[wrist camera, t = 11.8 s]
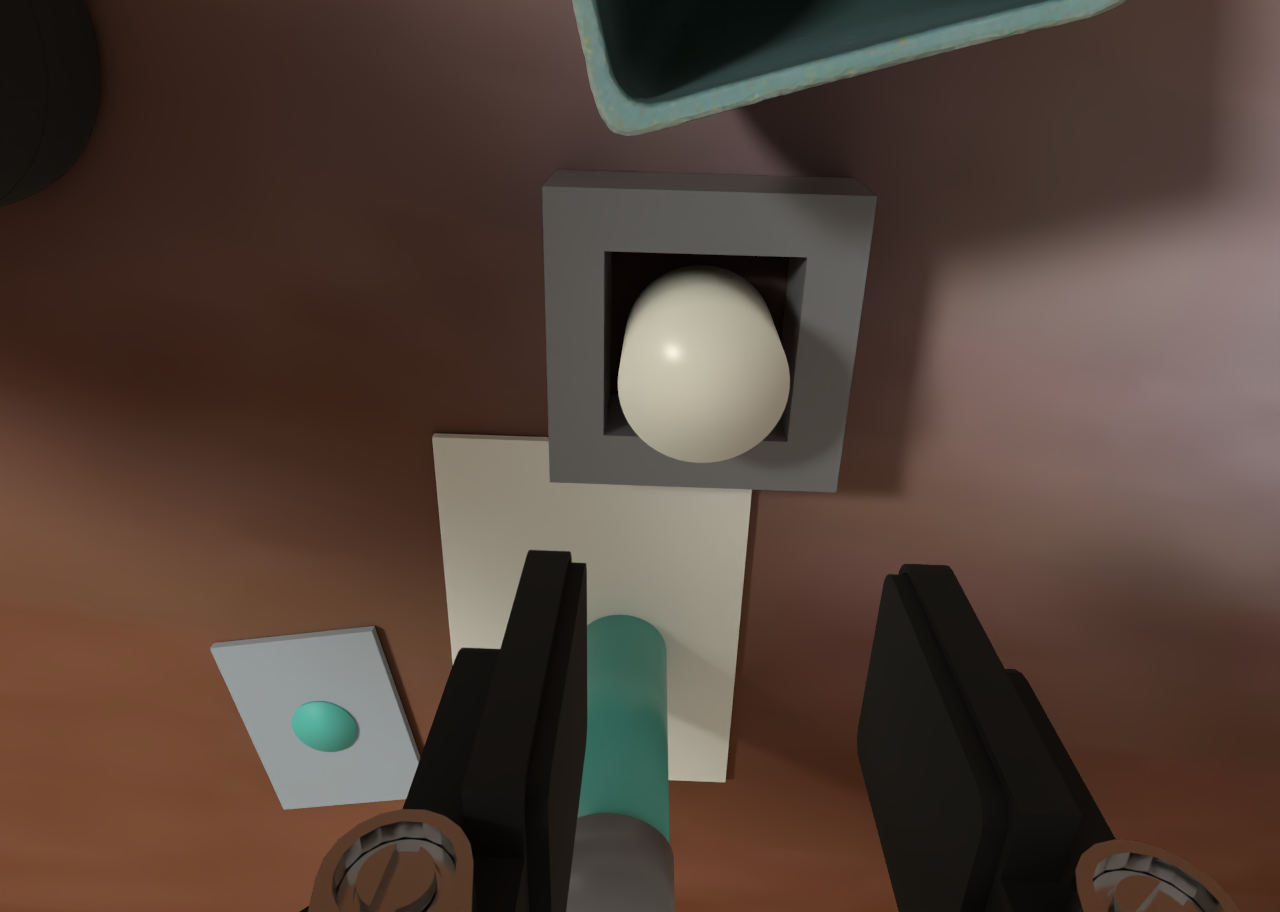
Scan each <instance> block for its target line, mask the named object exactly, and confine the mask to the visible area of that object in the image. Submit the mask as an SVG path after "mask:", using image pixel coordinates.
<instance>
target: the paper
mask: <svg viewBox="0 0 1280 912" xmlns="http://www.w3.org/2000/svg"><path fill="white" fill-rule="evenodd" d="M432 443H433V454H434V465H435V476H436V487H437V497H438V508H439V519H440V530H441V541H442V552H443V563H444V574H445V585H446V596H447V607H448V618H449V629H450V640H451V651H452V662H453V663H454V661H455V658H456V656H457V654H458V651H459V650H460V649H461V648H488V649H501V645H502V641H503V638H504V634H505V631H506V627H507V624H508V620H509V616H510V613H511V609H512V606H513V602H514V599H515V595H516V592H517V588H518V584H519V581H520V577H521V574H522V570H523V567H524V563H525V559H526V556H527V553H528V551H529V550H546V551H570V552H571V557H572V562H573V563H586V567H587V625H589V624H590V623H592V622H593V621H595V620H597V619H599V618H602V617H606V616H610V615H629V616H634V617H637V618H640V619H642V620H645V621H646V622H648V623H650V624H651V625H652V626H654V627H655V628H656V629H657V630H658V631H659V633H660V634H661V635H662V637H663V639H664V642H665V644H666V653H667V717H668V780H679V781H703V782H725V781H726V770H727V759H728V748H729V737H730V726H731V715H732V704H733V693H734V682H735V671H736V660H737V649H738V638H739V627H740V616H741V605H742V594H743V583H744V571H745V560H746V549H747V538H748V527H749V516H750V505H751V494H752V490H751V489H723V488H695V487H667V486H639V485H611V484H583V483H555V482H550V473H549V437H528V436H499V435H470V434H441V433H434V435H433V436H432Z"/></svg>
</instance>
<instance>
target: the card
mask: <svg viewBox="0 0 1280 912" xmlns="http://www.w3.org/2000/svg"><path fill="white" fill-rule="evenodd" d="M210 650H211V652H212V654H213V656H214V658H215V661H216V663H217V665H218V667H219V669H220V671H221V674H222V676H223V678H224V680H225V682H226V685H227V687H228V689H229V691H230V693H231V695H232V698H233V700H234V702H235V704H236V706H237V709H238V711H239V713H240V715H241V717H242V719H243V722H244V724H245V726H246V728H247V730H248V733H249V735H250V737H251V739H252V741H253V743H254V746H255V748H256V750H257V752H258V754H259V757H260V759H261V761H262V763H263V765H264V767H265V770H266V772H267V774H268V776H269V778H270V781H271V783H272V785H273V787H274V789H275V791H276V794H277V796H278V798H279V800H280V802H281V805H282V807H283V809H284V810H285V809H296V808H308V807H319V806H331V805H342V804H354V803H365V802H377V801H388V800H400V799H406V798H407V795H408V792H409V789H410V787H411V784H412V781H413V778H414V775H415V772H416V769H417V767H418V764H419V761H420V758H421V757H420V754H419V751H418V749H417V746H416V743H415V740H414V737H413V734H412V731H411V729H410V726H409V723H408V720H407V717H406V714H405V712H404V709H403V706H402V703H401V700H400V697H399V694H398V692H397V689H396V686H395V683H394V680H393V677H392V674H391V672H390V669H389V666H388V663H387V660H386V657H385V654H384V652H383V649H382V646H381V643H380V640H379V637H378V635H377V632H376V629H375V626H368V627H359V628H350V629H340V630H331V631H322V632H312V633H303V634H294V635H284V636H275V637H266V638H256V639H247V640H238V641H228V642H219V643H214V644H213V645H212V646H211V648H210Z"/></svg>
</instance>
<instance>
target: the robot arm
mask: <svg viewBox="0 0 1280 912" xmlns="http://www.w3.org/2000/svg"><path fill="white" fill-rule="evenodd" d="M586 740H587V567H586V563H573V562H572V557H571V552H570V551H546V550H529V551H528V553H527V556H526V559H525V563H524V567H523V570H522V574H521V577H520V581H519V584H518V588H517V592H516V595H515V599H514V602H513V606H512V609H511V613H510V616H509V620H508V624H507V627H506V631H505V634H504V638H503V641H502V645H501V649H488V648H461V649H460V650H459V651H458V654H457V656H456V658H455V661H454V663H453V666H452V669H451V672H450V675H449V678H448V681H447V684H446V686H445V689H444V692H443V695H442V698H441V701H440V704H439V706H438V709H437V712H436V715H435V718H434V721H433V724H432V726H431V729H430V732H429V735H428V738H427V741H426V744H425V747H424V749H423V752H422V755H421V758H420V761H419V764H418V767H417V769H416V772H415V775H414V778H413V781H412V784H411V787H410V789H409V792H408V795H407V798H406V801H405V804H404V807H403V809H401V810H397V811H392V812H387V813H383V814H379V815H377V816H375V817H373V818H371V819H368V820H366V821H364V822H362V823H360V824H358V825H356V826H355V827H354V828H353V829H351V830H350V831H349V832H347V833H346V834H345V835H344V836H342V837H341V838H340V839H338V841H337V842H336V843H335V844H334V846H333V847H332V848H331V849H330V851H329V852H328V853H327V855H326V856H325V857H324V859H323V861H322V863H321V866H320V868H319V871H318V873H317V876H316V878H315V882H314V887H313V891H312V896H311V900H310V905H309V906H308V907H306V908H305V909H303V910H302V911H300V912H566V908H567V900H568V892H569V883H570V875H571V867H572V859H573V850H574V842H575V834H576V825H577V817H578V809H579V801H580V792H581V784H582V776H583V767H584V759H585V751H586ZM857 747H858V756H859V761H860V765H861V769H862V773H863V776H864V780H865V784H866V788H867V792H868V796H869V799H870V803H871V807H872V811H873V815H874V819H875V822H876V826H877V830H878V834H879V838H880V842H881V845H882V849H883V853H884V857H885V861H886V865H887V868H888V872H889V876H890V880H891V884H892V888H893V891H894V895H895V899H896V903H897V907H898V910H899V912H1241V911H1240V909H1239V908H1238V906H1237V905H1236V903H1235V901H1234V900H1233V898H1232V897H1231V896H1230V895H1229V894H1228V893H1227V892H1226V891H1225V890H1224V889H1223V888H1222V887H1221V886H1220V885H1219V884H1218V883H1217V882H1216V881H1215V880H1214V879H1213V878H1212V877H1210V876H1209V875H1208V874H1206V873H1205V872H1203V871H1202V870H1201V869H1199V868H1198V867H1196V866H1195V865H1194V864H1192V863H1191V862H1189V861H1188V860H1186V859H1184V858H1182V857H1180V856H1178V855H1176V854H1174V853H1171V852H1169V851H1167V850H1165V849H1163V848H1160V847H1157V846H1153V845H1150V844H1146V843H1143V842H1139V841H1131V840H1116V839H1115V837H1114V836H1113V834H1112V832H1111V830H1110V828H1109V827H1108V825H1107V823H1106V821H1105V819H1104V818H1103V816H1102V814H1101V812H1100V810H1099V809H1098V807H1097V805H1096V803H1095V801H1094V800H1093V798H1092V796H1091V794H1090V792H1089V791H1088V789H1087V787H1086V785H1085V783H1084V782H1083V780H1082V778H1081V776H1080V774H1079V773H1078V771H1077V769H1076V767H1075V765H1074V764H1073V762H1072V760H1071V758H1070V756H1069V755H1068V753H1067V751H1066V749H1065V747H1064V746H1063V744H1062V742H1061V740H1060V738H1059V737H1058V735H1057V733H1056V731H1055V729H1054V728H1053V726H1052V724H1051V722H1050V720H1049V719H1048V717H1047V715H1046V713H1045V711H1044V710H1043V708H1042V706H1041V704H1040V702H1039V701H1038V699H1037V697H1036V695H1035V693H1034V692H1033V690H1032V688H1031V686H1030V684H1029V683H1028V681H1027V680H1026V678H1025V677H1024V676H1023V674H1022V673H1020V672H1019V671H1017V670H1015V669H1004V667H1003V665H1002V663H1001V661H1000V659H999V657H998V656H997V654H996V652H995V650H994V648H993V646H992V644H991V642H990V640H989V639H988V637H987V635H986V633H985V631H984V629H983V627H982V625H981V624H980V622H979V620H978V618H977V616H976V614H975V612H974V610H973V608H972V607H971V605H970V603H969V601H968V599H967V597H966V595H965V593H964V591H963V590H962V588H961V586H960V584H959V582H958V580H957V578H956V576H955V574H954V573H953V571H952V569H951V568H950V567H949V566H946V565H922V564H904V565H902V567H901V569H900V571H899V574H898V575H893V574H888V575H887V576H886V578H885V581H884V585H883V590H882V596H881V602H880V607H879V613H878V619H877V624H876V630H875V636H874V641H873V647H872V653H871V658H870V664H869V670H868V675H867V681H866V687H865V692H864V698H863V704H862V709H861V715H860V721H859V726H858V734H857Z"/></svg>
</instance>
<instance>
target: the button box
mask: <svg viewBox="0 0 1280 912" xmlns="http://www.w3.org/2000/svg"><path fill="white" fill-rule="evenodd" d="M542 203H543V242H544V280H545V319H546V357H547V396H548V434H549V473H550V482H555V483H583V484H611V485H639V486H667V487H695V488H723V489H751V490H779V491H807V492H835V493H836V490H837V483H838V476H839V469H840V462H841V454H842V447H843V440H844V433H845V426H846V419H847V411H848V404H849V397H850V390H851V383H852V376H853V368H854V361H855V354H856V347H857V340H858V333H859V325H860V318H861V311H862V304H863V297H864V290H865V282H866V275H867V268H868V261H869V254H870V247H871V239H872V232H873V225H874V218H875V211H876V204H877V195H875V194H874V193H873V192H871V191H870V190H869V189H867V188H866V187H865V186H863V185H862V184H861V183H859V182H858V181H857V180H855V179H854V178H837V177H802V176H767V175H732V174H697V173H662V172H627V171H592V170H556V171H555V172H554V174H553V175H552V176H551V177H550V178H549V179H548V180H547V181H546V183H545V184H544V185H543V186H542ZM612 251H613V252H646V253H679V254H711V255H744V256H777V257H790V258H789V268H788V278H787V288H786V298H785V308H784V318H783V328H782V338H781V344H782V347H783V350H784V353H785V355H786V359H787V363H788V367H789V374H790V389H789V395H788V400H787V403H786V406H785V409H784V411H783V413H782V416H781V418H780V420H779V421H778V423H777V424H776V426H775V427H774V428H773V430H772V431H771V432H770V433H769V434H768V436H767V437H765V438H764V439H763V440H762V441H761V442H760V443H759V444H757V445H756V446H754V447H753V448H752V449H750V450H748V451H746V452H745V453H743V454H741V455H738V456H736V457H733V458H731V459H727V460H723V461H718V462H711V463H694V462H686V461H681V460H677V459H674V458H671V457H668V456H666V455H664V454H662V453H660V452H658V451H656V450H655V449H653V448H652V447H650V446H649V445H648V444H647V443H645V442H644V441H643V440H642V439H641V438H640V437H639V436H638V435H637V434H636V433H635V432H634V430H633V429H632V427H631V426H630V424H629V423H628V421H627V419H626V417H625V415H624V413H623V410H622V407H621V404H620V400H619V395H610V386H611V269H612Z"/></svg>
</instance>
